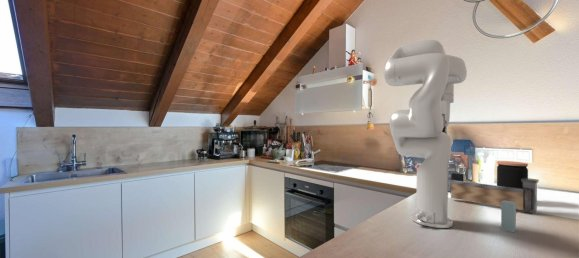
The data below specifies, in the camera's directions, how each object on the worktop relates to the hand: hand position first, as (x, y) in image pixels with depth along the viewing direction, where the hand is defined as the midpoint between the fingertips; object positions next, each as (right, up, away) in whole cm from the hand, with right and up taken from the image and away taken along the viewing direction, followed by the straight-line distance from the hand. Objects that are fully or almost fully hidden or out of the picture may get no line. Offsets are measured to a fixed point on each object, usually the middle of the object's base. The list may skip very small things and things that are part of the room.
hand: (442, 142), depth 107 cm
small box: (+22, -28, +27) cm, 44 cm away
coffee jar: (+36, -28, +8) cm, 46 cm away
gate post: (+31, -28, -7) cm, 42 cm away
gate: (+19, -27, 0) cm, 33 cm away
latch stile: (+5, -27, -26) cm, 38 cm away
